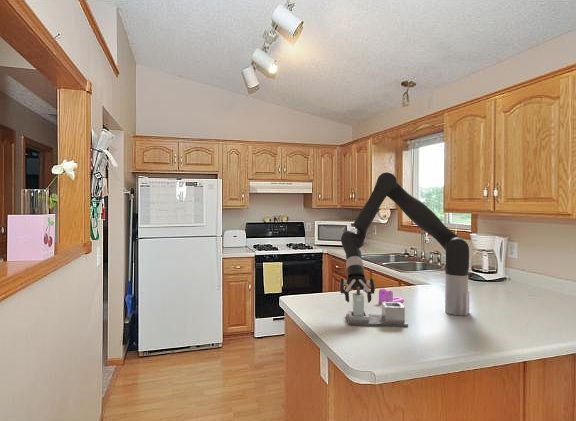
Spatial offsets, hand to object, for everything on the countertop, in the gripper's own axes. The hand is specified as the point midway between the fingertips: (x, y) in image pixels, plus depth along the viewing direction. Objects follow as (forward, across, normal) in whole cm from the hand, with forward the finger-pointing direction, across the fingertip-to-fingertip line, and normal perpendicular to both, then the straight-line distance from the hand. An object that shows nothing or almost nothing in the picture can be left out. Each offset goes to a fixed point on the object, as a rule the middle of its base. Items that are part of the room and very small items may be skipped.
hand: (358, 301), depth 149 cm
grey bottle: (+5, 0, +5) cm, 7 cm away
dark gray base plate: (+6, +7, +6) cm, 11 cm away
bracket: (-15, +20, +28) cm, 38 cm away
